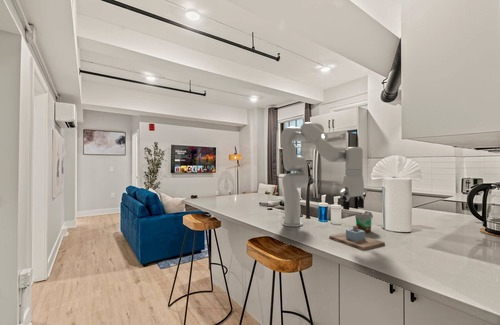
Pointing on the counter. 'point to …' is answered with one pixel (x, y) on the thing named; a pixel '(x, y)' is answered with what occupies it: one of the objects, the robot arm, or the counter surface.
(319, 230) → the counter surface
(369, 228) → the food container
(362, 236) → the collar
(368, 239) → the shaft stand
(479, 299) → the counter surface
